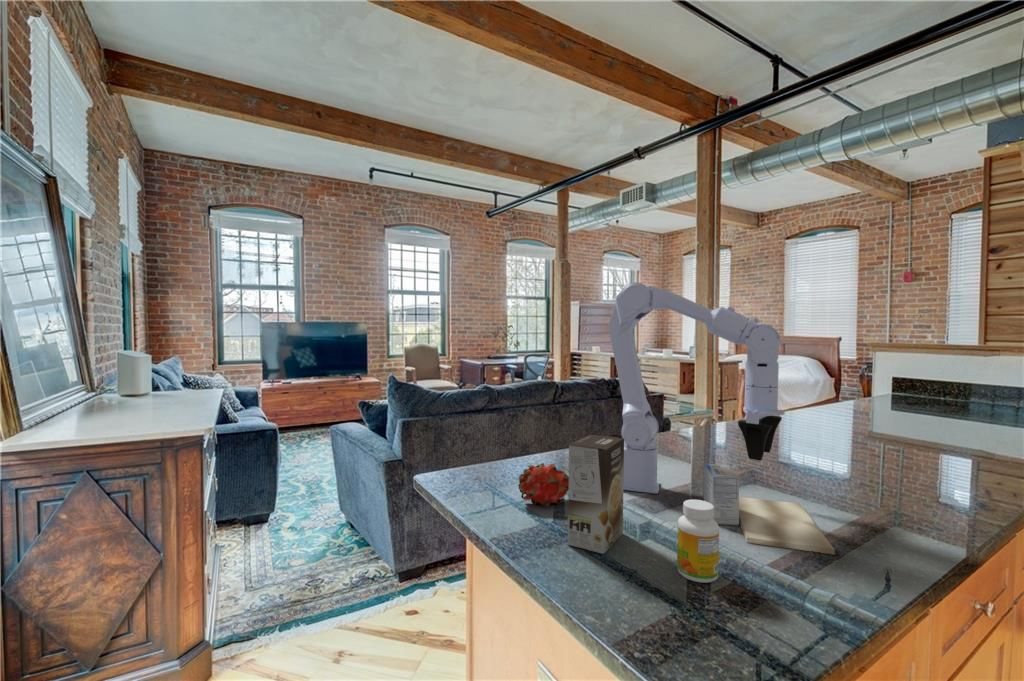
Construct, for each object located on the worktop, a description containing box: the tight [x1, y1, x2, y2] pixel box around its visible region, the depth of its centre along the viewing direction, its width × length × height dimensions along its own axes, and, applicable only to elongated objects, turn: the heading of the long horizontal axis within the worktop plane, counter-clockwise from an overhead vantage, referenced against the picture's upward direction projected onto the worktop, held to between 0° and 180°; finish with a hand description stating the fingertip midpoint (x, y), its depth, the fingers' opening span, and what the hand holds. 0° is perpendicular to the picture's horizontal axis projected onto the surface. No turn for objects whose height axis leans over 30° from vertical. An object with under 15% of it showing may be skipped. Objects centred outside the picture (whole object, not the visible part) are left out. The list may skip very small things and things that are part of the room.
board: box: [739, 496, 836, 555], centre depth 82 cm, size 12×20×1 cm, turn 161°
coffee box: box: [567, 434, 624, 555], centre depth 75 cm, size 9×6×16 cm
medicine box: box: [703, 463, 740, 527], centre depth 84 cm, size 8×4×9 cm, turn 168°
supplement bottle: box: [676, 499, 720, 584], centre depth 64 cm, size 5×5×10 cm
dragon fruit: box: [517, 462, 569, 507], centre depth 91 cm, size 8×8×12 cm
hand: (759, 455), depth 90 cm, fingers open, 7 cm apart
